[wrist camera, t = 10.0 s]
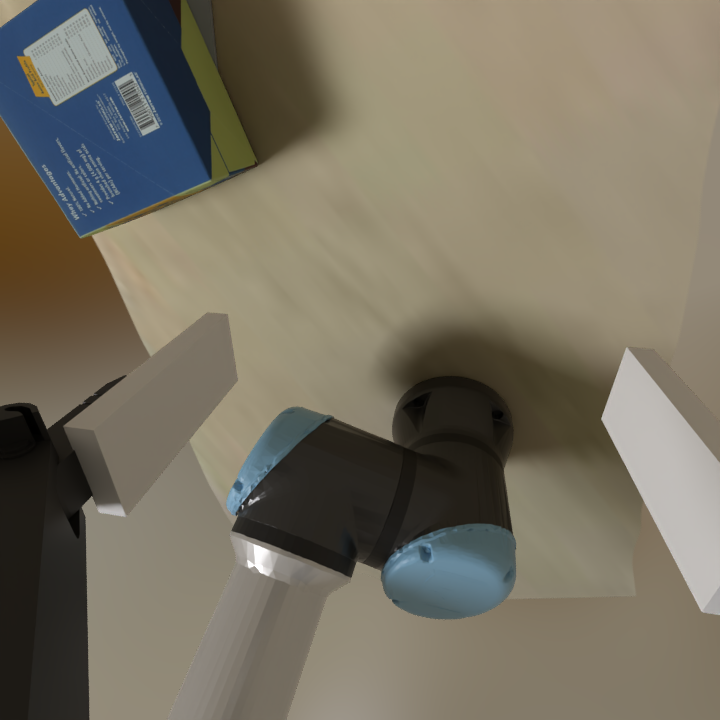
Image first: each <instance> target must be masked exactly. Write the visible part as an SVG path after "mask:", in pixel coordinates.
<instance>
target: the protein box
mask: <svg viewBox="0 0 720 720" xmlns="http://www.w3.org/2000/svg"><path fill="white" fill-rule="evenodd" d="M0 117H1V118H2V119H3V121H4V122H5V124H6V125H7V127H8V129H9V130H10V132H11V133H12V135H13V137H14V138H15V140H16V141H17V143H18V144H19V146H20V147H21V149H22V151H23V152H24V154H25V155H26V157H27V158H28V159H29V161H30V163H31V164H32V166H33V167H34V169H35V170H36V172H37V173H38V175H39V176H40V178H41V179H42V181H43V182H44V184H45V185H46V187H47V188H48V189H49V191H50V193H51V194H52V196H53V197H54V199H55V200H56V201H57V203H58V205H59V206H60V208H61V209H62V211H63V213H64V214H65V216H66V217H67V219H68V220H69V222H70V223H71V225H72V227H73V228H74V230H75V231H76V233H77V234H78V236H79V237H80V238H84V237H87V236H91V235H94V234H96V233H99V232H102V231H105V230H107V229H110V228H113V227H116V226H119V225H121V224H124V223H127V222H129V221H132V220H135V219H137V218H140V217H143V216H145V215H147V214H150V213H152V212H154V211H157V210H159V209H161V208H164V207H166V206H168V205H171V204H173V203H175V202H178V201H180V200H183V199H185V198H187V197H189V196H192V195H194V194H196V193H199V192H201V191H203V190H205V189H208V188H210V187H212V186H215V185H217V184H219V183H221V182H224V181H226V180H228V179H230V178H232V177H235V176H237V175H239V174H241V173H243V172H246V171H248V170H250V169H252V168H255V167H257V166H258V162H257V159H256V157H255V155H254V153H253V151H252V148H251V146H250V144H249V141H248V139H247V137H246V134H245V132H244V130H243V128H242V125H241V123H240V121H239V119H238V116H237V114H236V112H235V109H234V107H233V105H232V103H231V100H230V98H229V96H228V94H227V91H226V89H225V87H224V85H223V82H222V80H221V78H220V75H219V73H218V71H217V69H216V66H215V64H214V62H213V60H212V57H211V55H210V53H209V51H208V48H207V46H206V44H205V42H204V39H203V37H202V35H201V32H200V30H199V28H198V26H197V23H196V21H195V19H194V17H193V14H192V12H191V10H190V8H189V5H188V3H187V1H186V0H37V1H36V2H34V3H33V4H32V5H30V6H29V7H28V8H26V9H25V10H24V11H22V12H21V13H19V14H18V15H17V16H15V17H14V18H13V19H11V20H10V21H8V22H7V23H6V24H4V25H3V26H2V27H0Z"/></svg>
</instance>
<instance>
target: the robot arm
mask: <svg viewBox="0 0 720 720" xmlns="http://www.w3.org/2000/svg"><path fill="white" fill-rule="evenodd" d="M237 381H238V378H237V371H236V365H235V358H234V352H233V345H232V339H231V333H230V326H229V320H228V314H220V313H206V314H205V315H204V316H202V317H201V318H200V319H199V320H197V321H196V322H195V323H194V324H192V325H191V326H190V327H188V328H187V329H186V330H185V331H183V332H182V333H181V334H180V335H178V336H177V337H176V338H175V339H173V340H172V341H171V342H169V343H168V344H167V345H166V346H164V347H163V348H162V349H161V350H159V351H158V352H157V353H155V354H154V355H153V356H152V357H150V358H149V359H148V360H147V361H145V362H144V363H143V364H142V365H140V366H139V367H138V368H136V369H135V370H134V371H133V372H131V373H130V374H129V375H128V376H126V375H125V376H122V377H120V378H118V379H116V380H114V381H112V382H110V383H107V384H106V385H105V386H103V387H102V388H101V389H99V390H98V391H97V392H96V393H94V396H90V397H89V398H88V399H86V400H85V401H84V402H83V404H82V405H79V406H77V407H76V408H75V409H73V410H72V411H71V412H69V413H68V414H67V415H65V416H64V417H63V418H62V419H60V420H59V421H58V422H56V423H55V424H54V425H52V426H51V427H50V428H48V429H46V426H45V424H44V422H43V420H42V417H41V415H40V413H39V411H38V408H37V406H35V405H33V404H30V403H15V404H9V405H4V406H1V407H0V720H89V679H88V627H87V579H86V578H87V575H86V524H85V515H84V513H83V510H82V508H81V507H82V505H84V504H85V502H86V501H87V500H88V499H89V498H90V497H91V496H92V497H93V499H94V501H95V504H96V506H97V509H98V511H99V513H105V514H111V515H117V516H123V517H127V515H128V514H129V513H130V512H131V510H132V509H133V508H134V507H135V506H136V504H137V503H138V502H139V500H140V499H141V498H142V497H143V496H144V494H145V493H146V492H147V491H148V490H149V488H150V487H151V486H152V485H153V483H154V482H155V481H156V480H157V479H158V477H159V476H160V475H161V474H162V473H163V471H164V470H165V469H166V468H167V466H168V465H169V464H170V463H171V461H172V460H173V459H174V458H175V457H176V455H177V454H178V453H179V452H180V450H181V449H182V448H183V447H184V445H185V444H186V443H187V442H188V441H189V439H190V438H191V437H192V436H193V435H194V433H195V432H196V431H197V430H198V428H199V427H200V426H201V425H202V424H203V422H204V421H205V420H206V419H207V417H208V416H209V415H210V414H211V413H212V411H213V410H214V409H215V408H216V406H217V405H218V404H219V403H220V401H221V400H222V399H223V398H224V397H225V395H226V394H227V393H228V392H229V390H230V389H231V388H232V387H233V386H234V384H235V383H236V382H237ZM601 420H602V421H603V423H604V425H605V427H606V429H607V431H608V433H609V435H610V437H611V439H612V441H613V443H614V444H615V446H616V448H617V450H618V452H619V454H620V456H621V458H622V460H623V462H624V464H625V466H626V468H627V469H628V471H629V473H630V475H631V477H632V479H633V481H634V483H635V485H636V487H637V489H638V491H639V492H640V494H641V496H642V498H643V500H644V502H645V504H646V506H647V508H648V509H649V512H650V514H651V515H652V517H653V519H654V521H655V523H656V525H657V527H658V529H659V531H660V533H661V535H662V537H663V539H664V540H665V542H666V544H667V546H668V548H669V550H670V552H671V554H672V556H673V558H674V560H675V562H676V563H677V565H678V567H679V569H680V571H681V573H682V575H683V577H684V579H685V581H686V582H687V584H688V587H689V588H690V590H691V592H692V594H693V596H694V598H695V600H696V602H697V604H698V606H699V608H700V610H701V611H702V612H704V613H710V614H716V615H720V421H719V420H718V419H717V418H716V417H715V416H714V414H713V413H712V412H711V411H710V410H709V409H708V408H707V407H706V406H705V405H704V404H703V403H702V401H701V400H700V399H699V398H698V397H697V396H696V395H695V394H694V393H693V392H692V390H691V389H690V388H689V387H688V386H687V385H686V384H685V383H684V382H683V381H682V379H681V378H680V377H679V376H678V375H677V374H676V373H675V372H674V371H673V370H672V369H671V367H670V366H669V365H668V364H667V363H666V362H665V361H664V360H663V359H662V358H661V357H660V355H659V354H658V353H657V352H656V351H655V350H654V349H646V348H634V347H626V350H625V353H624V356H623V359H622V362H621V364H620V367H619V370H618V373H617V376H616V378H615V381H614V384H613V387H612V390H611V393H610V395H609V398H608V401H607V404H606V407H605V410H604V412H603V415H602V418H601ZM513 434H514V433H513V424H512V419H511V414H510V411H509V409H508V407H507V405H506V403H505V402H504V401H503V399H502V398H501V397H500V396H499V395H498V394H497V393H496V392H495V391H493V390H492V389H491V388H489V387H487V386H486V385H484V384H482V383H480V382H477V381H474V380H471V379H467V378H462V377H439V378H433V379H430V380H427V381H424V382H422V383H419V384H417V385H416V386H414V387H413V388H411V389H410V390H409V391H407V392H406V393H405V394H404V396H403V397H402V398H401V399H400V401H399V403H398V404H397V407H396V409H395V413H394V418H393V424H392V435H393V440H394V442H391V441H389V440H386V439H384V438H381V437H379V436H376V435H373V434H371V433H368V432H366V431H363V430H361V429H358V428H356V427H353V426H351V425H349V424H346V423H344V422H341V421H339V420H337V419H334V417H333V416H331V415H323V414H320V413H317V412H314V411H311V410H308V409H305V408H303V407H291V408H288V409H286V410H284V411H283V412H282V413H280V414H279V415H278V416H277V417H276V418H275V419H274V420H273V421H272V423H271V424H270V425H269V426H268V428H267V429H266V430H265V432H264V433H263V434H262V436H261V437H260V439H259V440H258V442H257V443H256V445H255V446H254V448H253V449H252V451H251V453H250V454H249V456H248V458H247V459H246V461H245V463H244V464H243V466H242V468H241V470H240V472H239V474H238V478H237V479H236V481H235V483H234V485H233V487H232V488H231V490H230V492H229V495H228V498H227V502H226V505H227V508H228V510H229V511H231V514H232V515H235V516H237V515H238V517H237V520H236V522H235V524H234V526H233V528H232V531H231V533H230V538H231V541H232V544H233V547H234V550H235V553H236V563H235V566H234V568H233V570H232V572H231V575H230V577H229V579H228V582H227V584H226V586H225V588H224V591H223V593H222V595H221V598H220V600H219V602H218V604H217V607H216V609H215V611H214V613H213V616H212V618H211V620H210V622H209V625H208V627H207V629H206V632H205V634H204V636H203V638H202V641H201V643H200V645H199V648H198V650H197V652H196V654H195V657H194V659H193V661H192V664H191V666H190V668H189V670H188V673H187V675H186V677H185V680H184V682H183V684H182V686H181V689H180V691H179V693H178V696H177V698H176V700H175V702H174V705H173V707H172V709H171V711H170V714H169V716H168V718H167V720H286V719H287V716H288V713H289V710H290V707H291V704H292V700H293V698H294V695H295V692H296V689H297V686H298V683H299V680H300V677H301V674H302V671H303V668H304V665H305V661H306V658H307V656H308V653H309V650H310V646H311V644H312V641H313V637H314V635H315V631H316V628H317V625H318V622H319V619H320V616H321V613H322V610H323V607H324V604H325V601H326V598H327V597H328V596H329V595H330V594H331V593H332V592H333V591H335V590H337V589H339V588H341V587H342V586H344V585H346V584H348V583H349V582H350V580H351V577H352V574H353V571H354V568H355V565H356V562H361V563H363V564H366V565H368V566H371V567H373V568H375V569H378V570H380V571H382V572H381V580H382V584H383V589H384V591H385V594H386V595H387V597H388V598H389V599H392V602H393V603H394V604H395V605H396V606H398V607H399V608H401V609H403V610H405V611H407V612H409V613H411V614H414V615H418V616H422V617H426V618H433V619H461V618H465V617H472V616H476V615H479V614H482V613H485V612H487V611H489V610H491V609H493V608H495V607H496V606H498V605H499V604H500V603H502V602H503V601H504V600H505V599H506V598H507V597H508V595H509V594H510V592H511V591H512V589H513V587H514V583H515V580H516V558H515V549H516V541H515V538H514V536H513V531H512V524H511V517H510V510H509V503H508V497H507V490H506V483H505V476H504V467H505V464H506V461H507V459H508V456H509V453H510V450H511V447H512V443H513Z"/></svg>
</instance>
